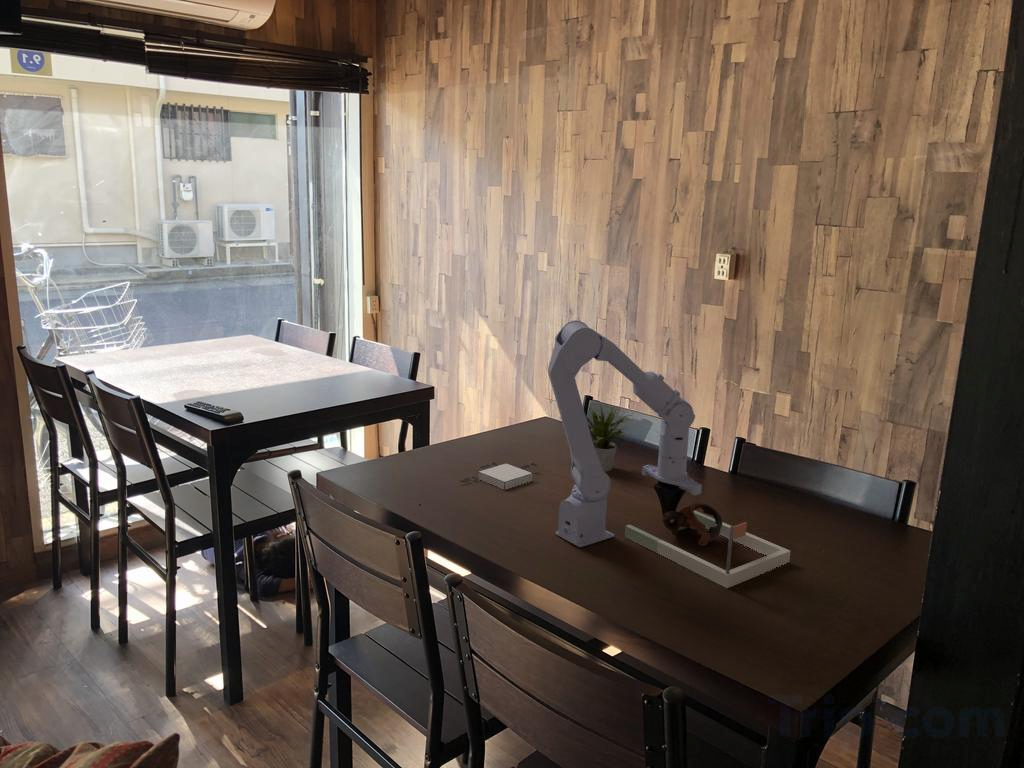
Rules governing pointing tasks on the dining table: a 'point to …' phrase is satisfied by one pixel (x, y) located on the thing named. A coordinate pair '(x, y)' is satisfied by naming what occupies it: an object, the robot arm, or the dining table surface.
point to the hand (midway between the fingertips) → (668, 516)
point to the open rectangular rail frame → (727, 577)
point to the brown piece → (694, 522)
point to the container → (504, 475)
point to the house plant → (605, 437)
